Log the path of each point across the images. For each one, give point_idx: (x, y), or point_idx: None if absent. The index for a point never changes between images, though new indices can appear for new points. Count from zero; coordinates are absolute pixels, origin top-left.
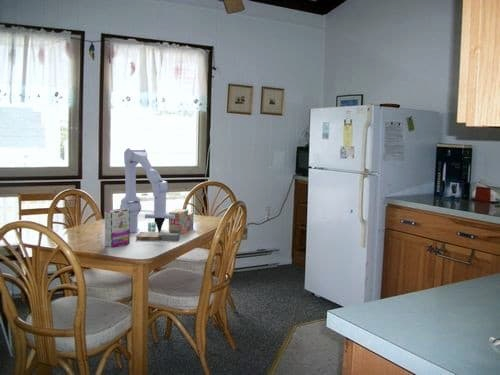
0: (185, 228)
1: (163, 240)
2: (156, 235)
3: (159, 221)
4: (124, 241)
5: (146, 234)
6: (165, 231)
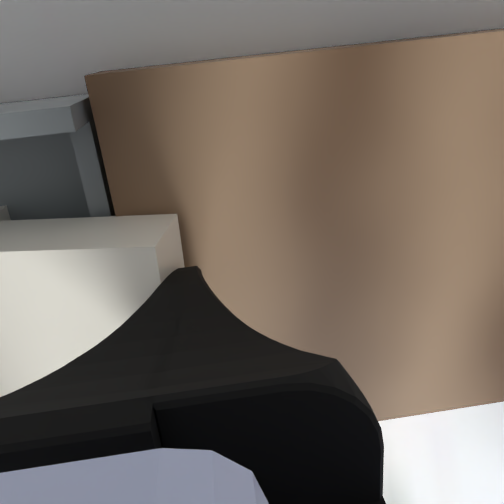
0: None
1: (60, 98)
2: (225, 204)
3: (130, 391)
4: None
5: (423, 241)
6: (54, 325)
